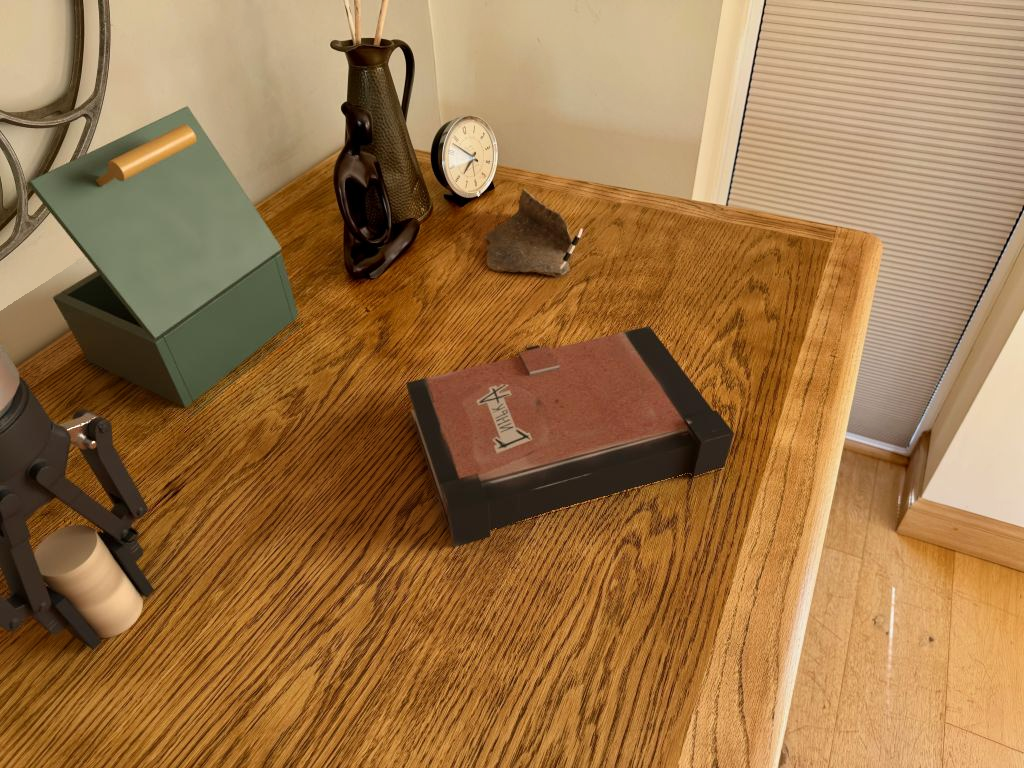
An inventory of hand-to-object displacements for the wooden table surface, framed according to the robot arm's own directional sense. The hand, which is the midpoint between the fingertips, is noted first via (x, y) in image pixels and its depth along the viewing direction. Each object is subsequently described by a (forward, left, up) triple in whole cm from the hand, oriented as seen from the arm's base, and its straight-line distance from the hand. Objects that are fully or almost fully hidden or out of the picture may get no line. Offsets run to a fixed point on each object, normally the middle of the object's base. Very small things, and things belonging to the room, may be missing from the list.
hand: (113, 611), depth 58 cm
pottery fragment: (+4, +61, 0) cm, 61 cm away
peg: (0, 0, 0) cm, 0 cm away
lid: (-16, +27, +17) cm, 36 cm away
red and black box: (+23, +34, 0) cm, 41 cm away
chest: (-19, +27, 0) cm, 33 cm away
